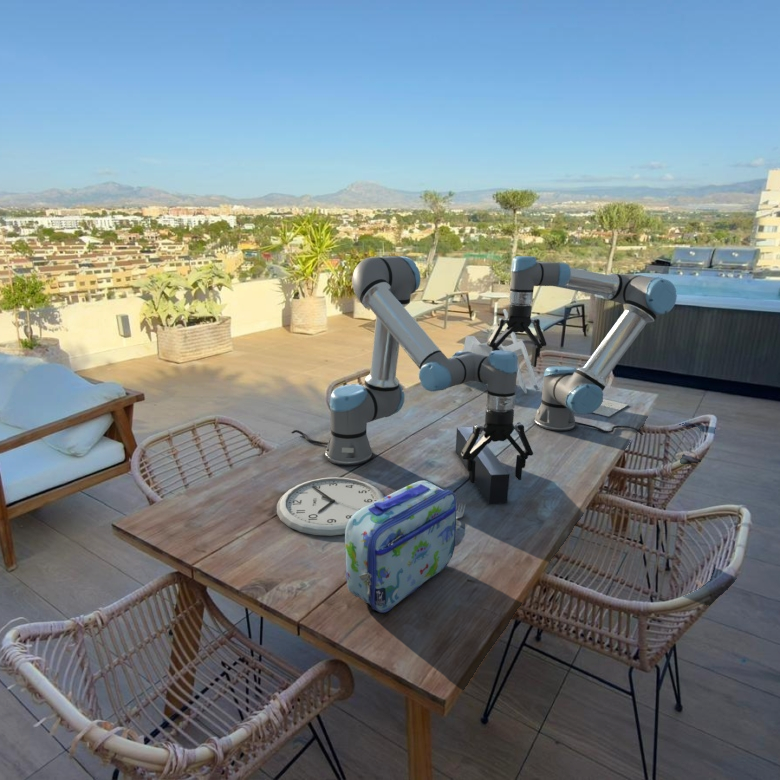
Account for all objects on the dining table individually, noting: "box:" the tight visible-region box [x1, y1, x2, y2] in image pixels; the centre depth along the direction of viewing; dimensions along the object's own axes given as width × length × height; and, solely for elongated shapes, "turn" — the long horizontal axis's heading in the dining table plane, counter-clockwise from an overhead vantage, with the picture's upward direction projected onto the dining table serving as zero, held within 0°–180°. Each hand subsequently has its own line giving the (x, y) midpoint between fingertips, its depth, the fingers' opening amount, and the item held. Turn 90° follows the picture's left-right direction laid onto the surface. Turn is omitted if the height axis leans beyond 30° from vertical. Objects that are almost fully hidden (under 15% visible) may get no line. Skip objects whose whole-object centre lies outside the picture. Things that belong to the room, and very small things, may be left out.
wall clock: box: [276, 476, 386, 537], centre depth 142 cm, size 30×2×30 cm
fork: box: [456, 501, 466, 520], centre depth 134 cm, size 3×16×2 cm, turn 160°
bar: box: [455, 426, 511, 505], centre depth 161 cm, size 36×5×9 cm, turn 8°
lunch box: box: [344, 480, 457, 614], centre depth 109 cm, size 26×11×21 cm, turn 135°
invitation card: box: [591, 398, 629, 418], centre depth 226 cm, size 21×1×15 cm
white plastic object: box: [462, 308, 540, 394], centre depth 253 cm, size 37×45×31 cm
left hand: (495, 479), depth 147 cm, fingers open, 13 cm apart
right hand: (514, 366), depth 179 cm, fingers open, 13 cm apart
